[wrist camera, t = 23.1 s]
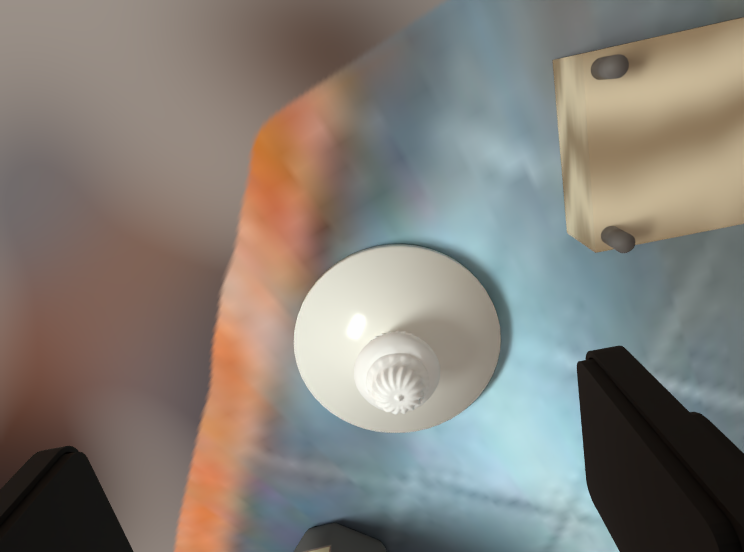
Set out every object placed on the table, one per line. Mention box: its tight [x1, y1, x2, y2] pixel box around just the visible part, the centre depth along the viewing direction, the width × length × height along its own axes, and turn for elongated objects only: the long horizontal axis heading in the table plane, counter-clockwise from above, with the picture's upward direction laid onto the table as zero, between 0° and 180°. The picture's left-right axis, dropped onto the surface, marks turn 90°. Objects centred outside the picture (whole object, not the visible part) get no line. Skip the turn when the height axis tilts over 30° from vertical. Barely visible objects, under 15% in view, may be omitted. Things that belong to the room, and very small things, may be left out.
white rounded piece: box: [354, 331, 440, 415], centre depth 36 cm, size 6×6×7 cm
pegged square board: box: [553, 17, 744, 253], centre depth 31 cm, size 12×12×7 cm
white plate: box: [294, 244, 501, 433], centre depth 39 cm, size 16×16×1 cm
